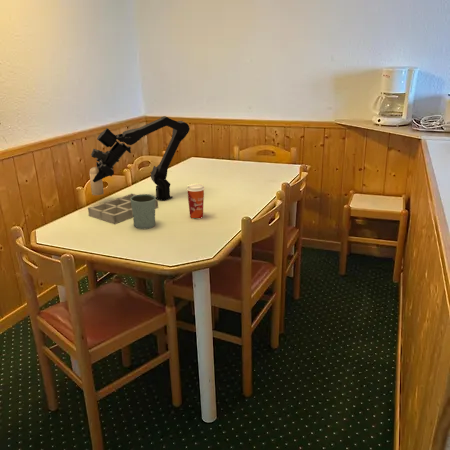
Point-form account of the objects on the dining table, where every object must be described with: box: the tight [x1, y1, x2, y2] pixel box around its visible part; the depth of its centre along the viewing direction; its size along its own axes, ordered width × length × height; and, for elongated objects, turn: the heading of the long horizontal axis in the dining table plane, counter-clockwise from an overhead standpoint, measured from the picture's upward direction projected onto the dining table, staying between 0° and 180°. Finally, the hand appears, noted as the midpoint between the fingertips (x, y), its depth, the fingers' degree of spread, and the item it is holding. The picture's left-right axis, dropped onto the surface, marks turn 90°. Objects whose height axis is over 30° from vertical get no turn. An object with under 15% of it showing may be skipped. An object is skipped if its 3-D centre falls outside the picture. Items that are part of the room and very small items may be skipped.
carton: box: [87, 193, 159, 225], centre depth 197 cm, size 17×25×4 cm
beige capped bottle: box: [89, 166, 104, 196], centre depth 200 cm, size 5×5×12 cm
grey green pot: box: [130, 193, 157, 230], centre depth 180 cm, size 10×10×12 cm
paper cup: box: [186, 183, 206, 219], centre depth 188 cm, size 8×8×14 cm
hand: (93, 180), depth 200 cm, fingers closed on beige capped bottle, 5 cm apart
